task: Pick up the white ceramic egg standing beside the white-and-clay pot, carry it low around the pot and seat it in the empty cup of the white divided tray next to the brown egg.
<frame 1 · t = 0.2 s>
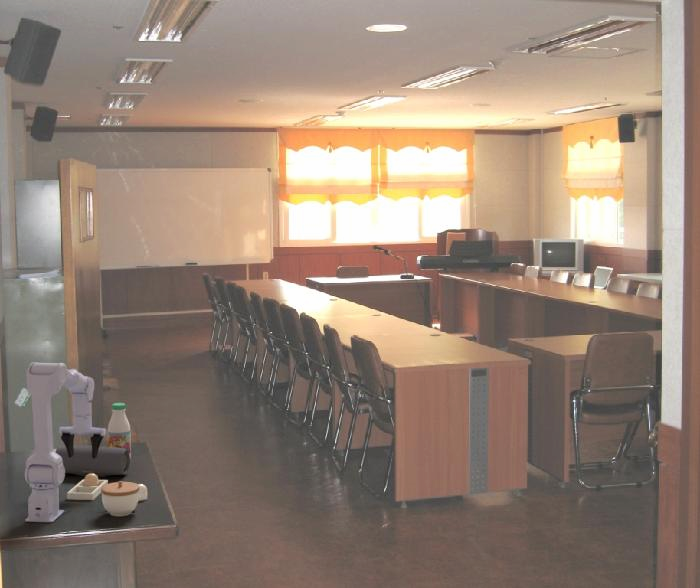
hand: (82, 457, 303), 10 cm above the table, tool pointing down, fingers open, 7 cm apart
bluetooth speaker: (92, 476, 318), on the table
brown egg: (91, 489, 302), point 1 cm above the table, touching white divided tray
milk bottle: (119, 461, 337), on the table
white divided tray: (87, 494, 299), on the table
white egg: (140, 500, 293), on the table
lidded jar: (120, 513, 282), on the table
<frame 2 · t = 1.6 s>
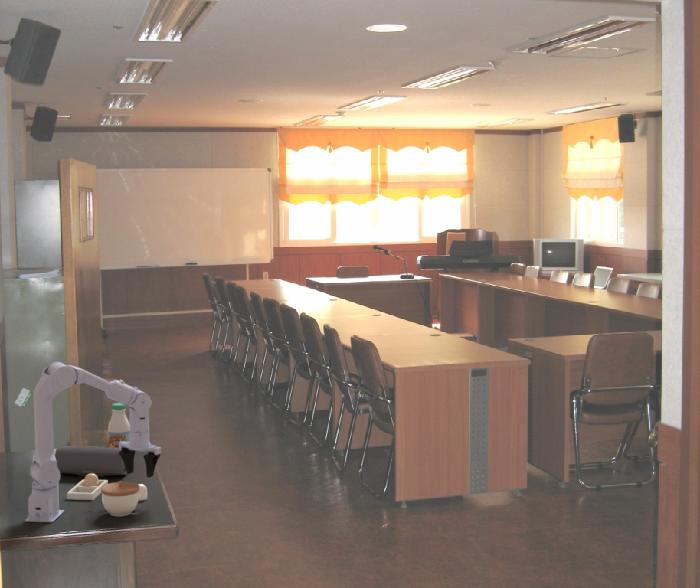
hand: (140, 474, 293), 8 cm above the table, tool pointing down, fingers open, 7 cm apart
nothing on the table moved.
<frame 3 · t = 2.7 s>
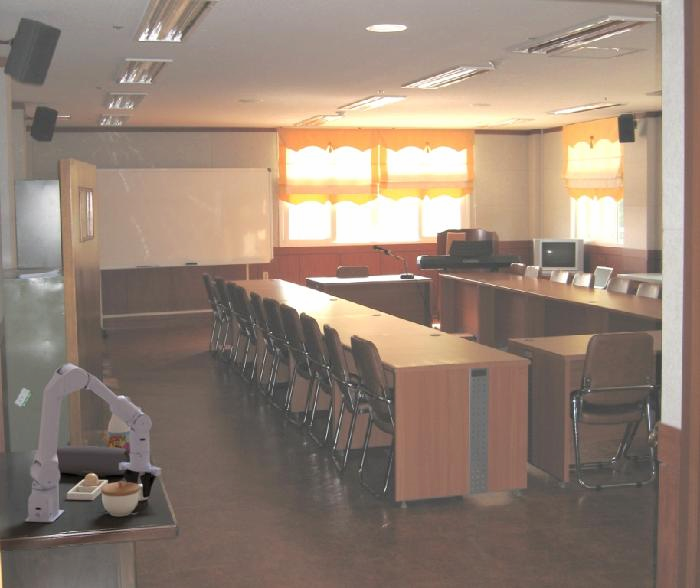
hand: (140, 495, 293), 1 cm above the table, tool pointing down, fingers closed on white egg, 4 cm apart
white egg: (140, 500, 293), on the table, touching gripper
everything else where it was.
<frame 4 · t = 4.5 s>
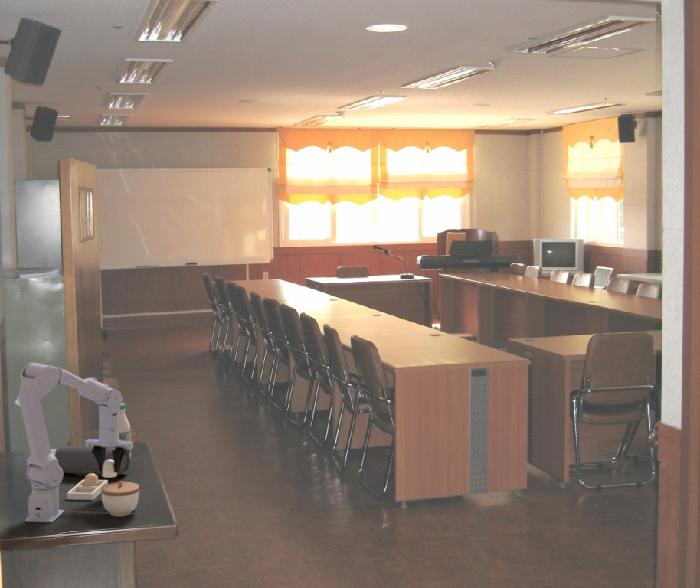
hand: (109, 471, 295), 8 cm above the table, tool pointing down, fingers closed on white egg, 4 cm apart
white egg: (109, 475, 295), point 7 cm above the table, touching gripper
everything else where it was.
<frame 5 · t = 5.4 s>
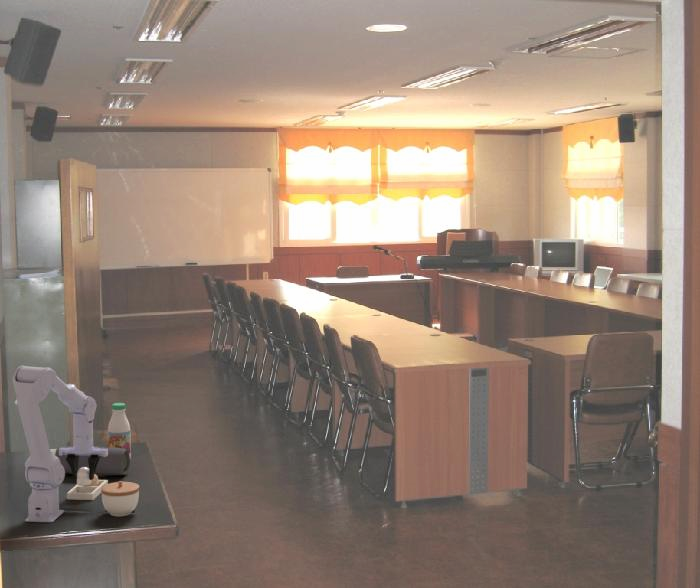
hand: (84, 478, 295), 6 cm above the table, tool pointing down, fingers closed on white egg, 4 cm apart
white egg: (84, 483, 295), point 4 cm above the table, touching gripper
everything else where it was.
when the fingers open (3 cm above the table, at t = 6.2 s): white egg drops 1 cm, resting on white divided tray.
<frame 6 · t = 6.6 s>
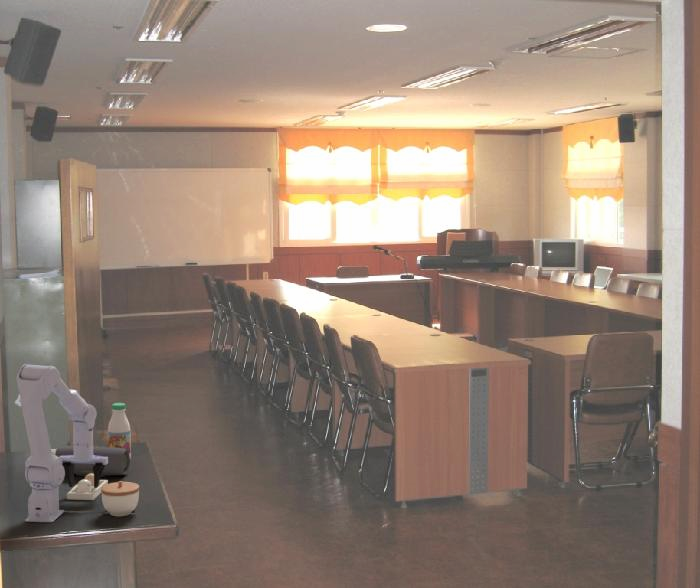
hand: (84, 486, 295), 3 cm above the table, tool pointing down, fingers open, 7 cm apart
white egg: (84, 495, 295), point 1 cm above the table, touching white divided tray
everything else where it was.
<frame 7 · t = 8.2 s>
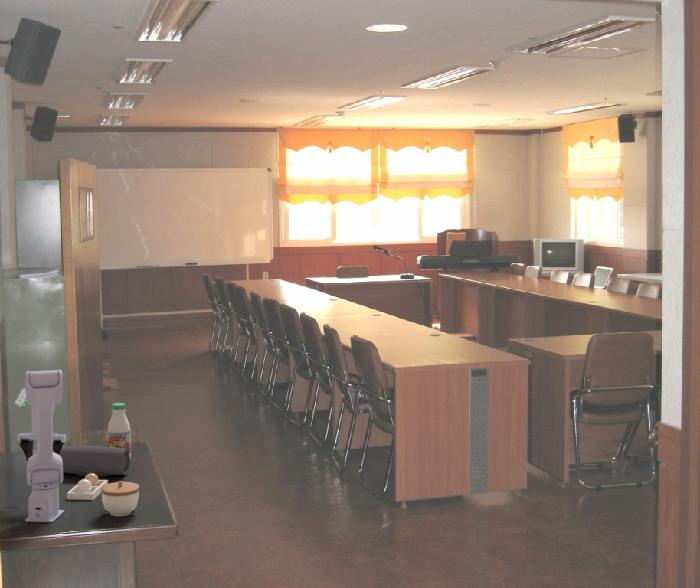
hand: (42, 464, 294), 10 cm above the table, tool pointing down, fingers open, 7 cm apart
nothing on the table moved.
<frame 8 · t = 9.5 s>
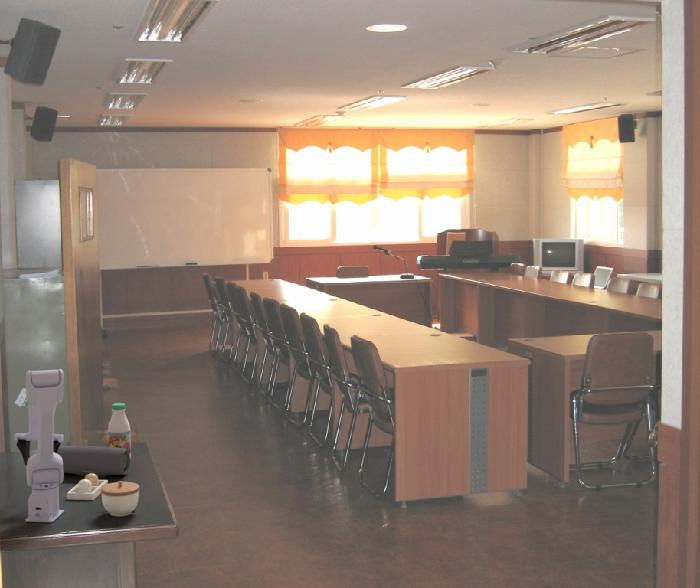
hand: (39, 464, 294), 10 cm above the table, tool pointing down, fingers open, 7 cm apart
nothing on the table moved.
at the end: white egg 0.1 cm from the target spot on the white divided tray, point 0.7 cm above the white divided tray's base; white egg tilted 2°; the gripper is holding nothing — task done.
